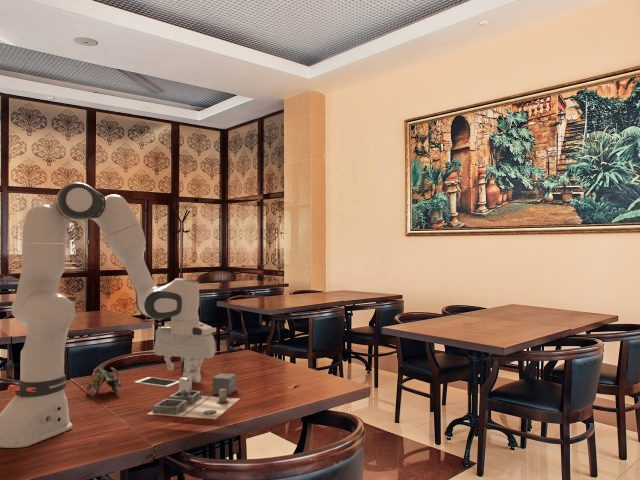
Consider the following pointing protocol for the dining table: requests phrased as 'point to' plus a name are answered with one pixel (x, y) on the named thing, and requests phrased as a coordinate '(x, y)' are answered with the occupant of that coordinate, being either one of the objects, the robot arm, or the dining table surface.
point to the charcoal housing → (224, 383)
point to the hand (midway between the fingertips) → (183, 370)
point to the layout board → (194, 405)
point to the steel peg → (185, 387)
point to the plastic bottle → (191, 369)
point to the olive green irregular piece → (106, 377)
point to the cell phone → (157, 382)
